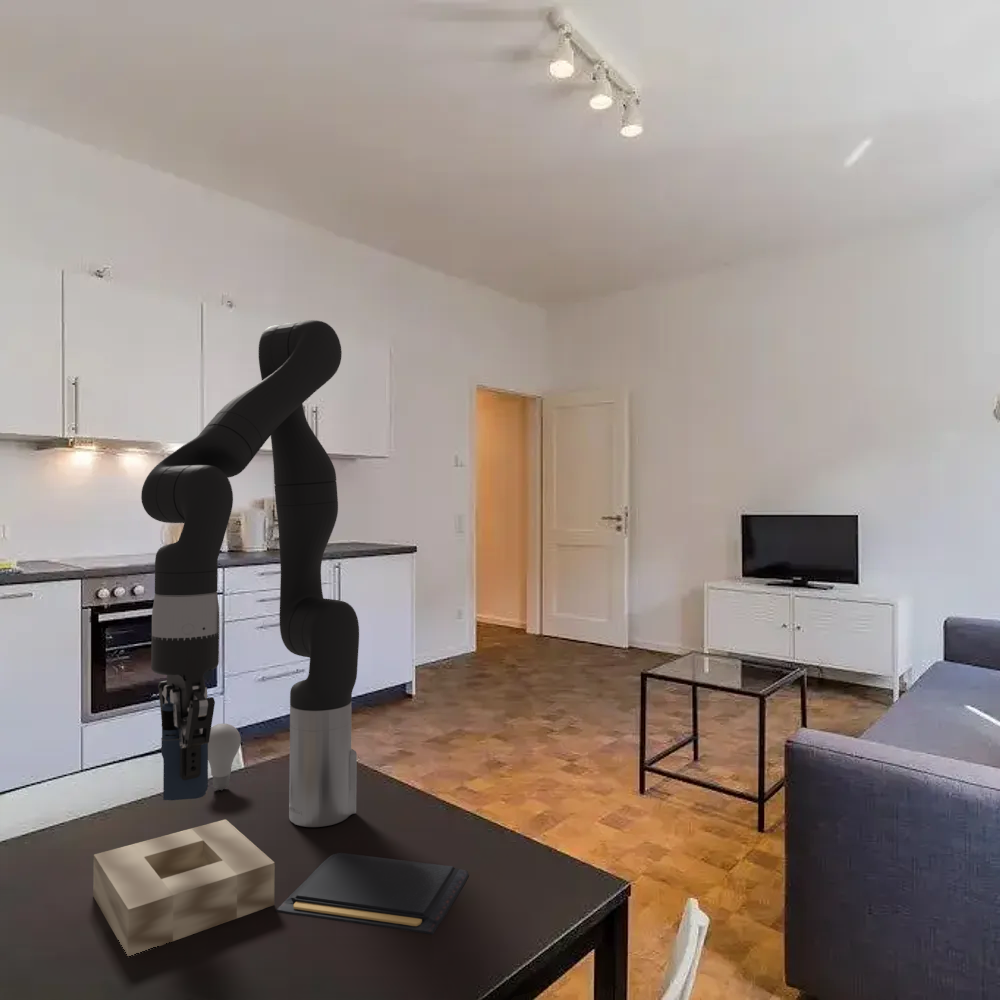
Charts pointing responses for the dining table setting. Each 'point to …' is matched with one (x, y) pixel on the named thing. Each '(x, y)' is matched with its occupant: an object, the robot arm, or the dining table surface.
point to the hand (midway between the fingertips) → (184, 772)
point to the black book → (378, 892)
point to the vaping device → (171, 755)
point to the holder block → (181, 884)
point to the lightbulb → (222, 753)
